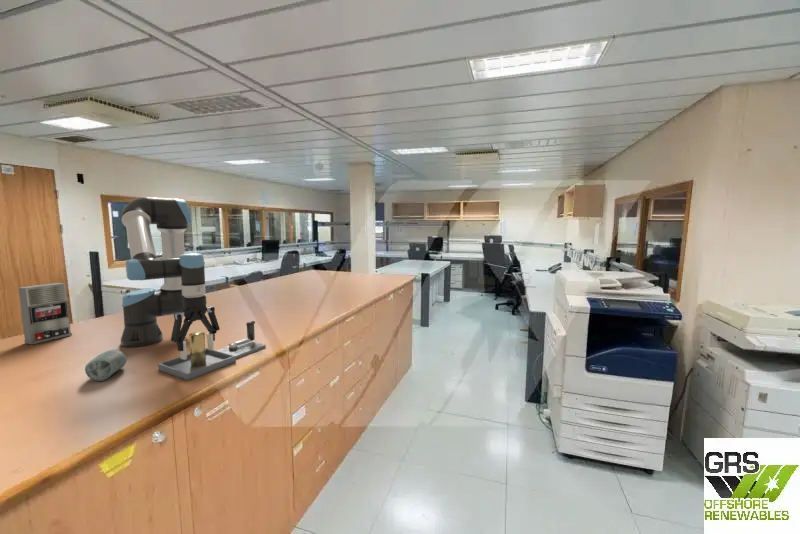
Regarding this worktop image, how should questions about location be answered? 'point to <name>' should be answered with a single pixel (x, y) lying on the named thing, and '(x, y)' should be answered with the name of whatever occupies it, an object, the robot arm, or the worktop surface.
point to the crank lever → (249, 336)
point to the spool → (105, 365)
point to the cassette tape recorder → (44, 312)
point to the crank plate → (243, 349)
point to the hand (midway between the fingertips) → (197, 354)
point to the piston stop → (197, 349)
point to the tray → (187, 372)
